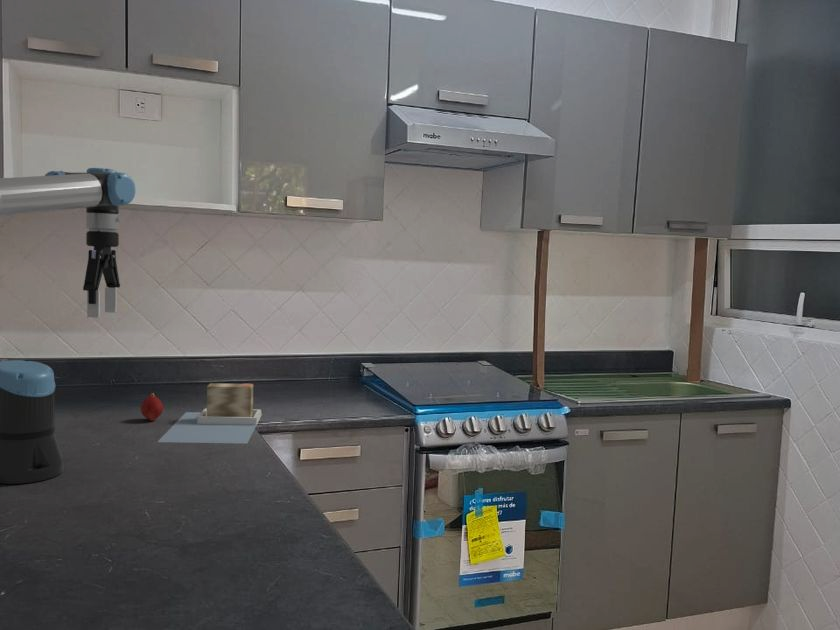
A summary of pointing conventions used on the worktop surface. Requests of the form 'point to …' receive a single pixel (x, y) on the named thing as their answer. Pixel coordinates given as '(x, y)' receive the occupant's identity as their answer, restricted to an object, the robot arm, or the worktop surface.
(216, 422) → the frame
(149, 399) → the onion
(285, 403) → the worktop surface
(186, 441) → the mat
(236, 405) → the block
